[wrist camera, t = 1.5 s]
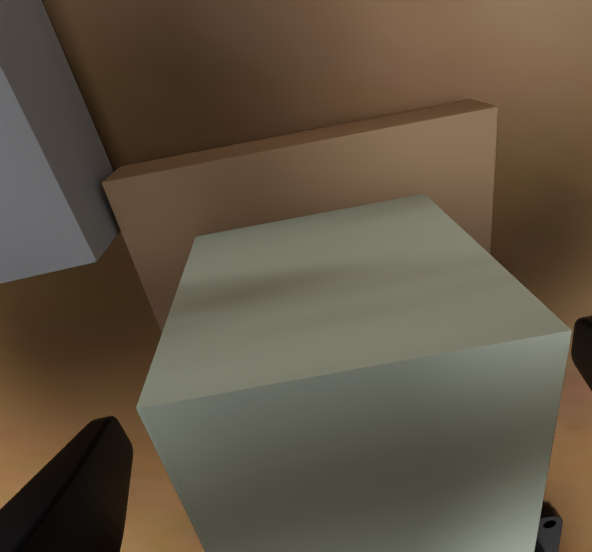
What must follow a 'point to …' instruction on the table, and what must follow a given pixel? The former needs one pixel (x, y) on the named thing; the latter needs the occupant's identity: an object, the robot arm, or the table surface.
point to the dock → (46, 154)
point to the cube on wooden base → (344, 340)
